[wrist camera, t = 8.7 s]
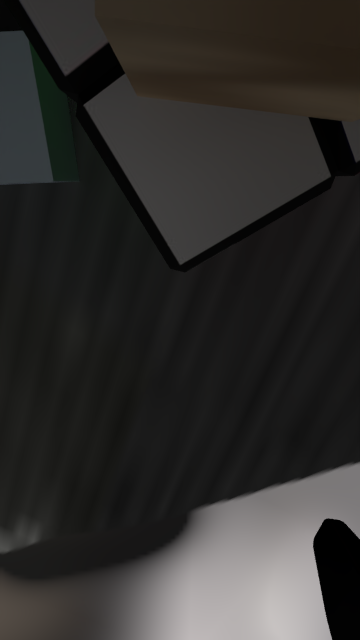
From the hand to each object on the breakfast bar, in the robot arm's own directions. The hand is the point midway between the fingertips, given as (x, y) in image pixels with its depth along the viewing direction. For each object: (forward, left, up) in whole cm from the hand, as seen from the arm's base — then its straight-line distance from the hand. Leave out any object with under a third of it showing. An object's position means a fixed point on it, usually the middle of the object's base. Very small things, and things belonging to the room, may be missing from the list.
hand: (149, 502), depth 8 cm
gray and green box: (-9, +8, -13) cm, 18 cm away
